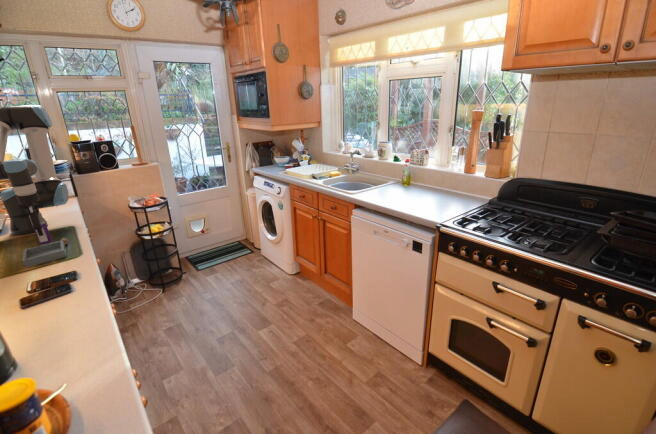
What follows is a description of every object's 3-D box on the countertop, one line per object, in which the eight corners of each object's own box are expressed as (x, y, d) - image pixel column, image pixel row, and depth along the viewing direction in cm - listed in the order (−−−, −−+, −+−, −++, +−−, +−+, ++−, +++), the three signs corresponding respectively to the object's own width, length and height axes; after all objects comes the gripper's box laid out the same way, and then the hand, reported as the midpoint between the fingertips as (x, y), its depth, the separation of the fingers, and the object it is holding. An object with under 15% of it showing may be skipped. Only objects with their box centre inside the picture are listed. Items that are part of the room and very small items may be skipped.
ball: (60, 244, 157) (58, 238, 156) (69, 242, 159) (66, 236, 158) (60, 246, 155) (58, 240, 154) (69, 244, 157) (67, 238, 156)
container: (45, 245, 157) (33, 216, 152) (37, 245, 158) (25, 215, 153) (55, 241, 161) (43, 212, 156) (47, 240, 162) (35, 212, 157)
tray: (26, 255, 148) (23, 249, 147) (65, 246, 156) (62, 240, 154) (24, 267, 137) (21, 261, 136) (66, 256, 145) (63, 250, 144)
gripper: (17, 190, 157) (35, 232, 165) (13, 201, 140) (33, 248, 148) (37, 187, 161) (53, 228, 169) (36, 197, 144) (54, 242, 152)
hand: (44, 237), depth 159 cm, fingers open, 11 cm apart
